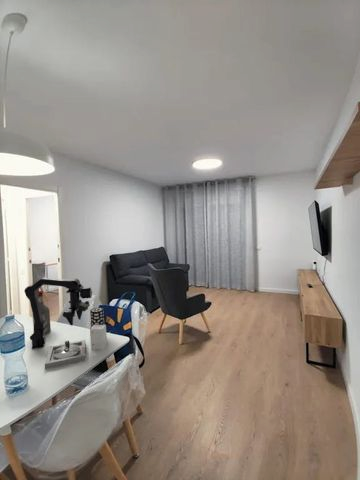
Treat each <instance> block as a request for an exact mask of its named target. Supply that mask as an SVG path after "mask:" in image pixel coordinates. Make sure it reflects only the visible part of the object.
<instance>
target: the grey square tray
mask: <svg viewBox="0 0 360 480" xmlns="http://www.w3.org/2000/svg"><path fill="white" fill-rule="evenodd" d="M69 343H70V345H71V344H74V345H78V346H79V347H80V352H79V353H78V354H77V355H76V356H73V357H68V358H63V359H58V360H57V359H55V358H54V357H53V353H54V351H55V350H56V349H58V348H60V347H62V346H65V343H61V344H55V345H51V346H49V349H48V352H47V355H46V359H45V360H44V361H45V362H44V370H49V369H54V368H59V367H63V366H67V365H73V364H77V363H83V362H85V361H86V347H87V346H86V339H82V340H77V341H71V342H69Z"/></svg>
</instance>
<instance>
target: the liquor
mask: <svg viewBox="0 0 360 480" xmlns="http://www.w3.org/2000/svg"><path fill="white" fill-rule="evenodd" d="M43 296H44V293H43V290H39V296H38V300H39V304H40V309H41V313H42V318H43V320H44V321H46V320H47V324H48V327H47V330H46V331H45V332H44V334H43V335H44V336H45V335H47V334H49V333H50V332H51V329H52V328H51V316H50V315H51V314H50V313H51V312H50V308H49V307H48V306H47V305H45V304H44V303H45V302H44V297H43ZM32 325H33V328H34V317H33V316H32Z"/></svg>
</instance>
